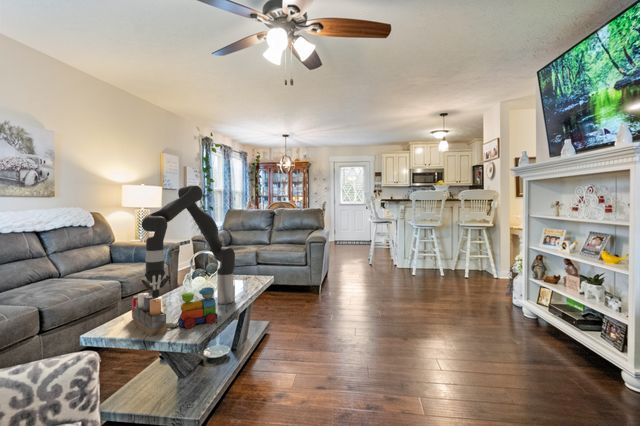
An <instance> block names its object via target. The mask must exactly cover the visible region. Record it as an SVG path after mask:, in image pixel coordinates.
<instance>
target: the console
mask: <svg viewBox="0 0 640 426" xmlns="http://www.w3.org/2000/svg"><path fill="white" fill-rule="evenodd" d="M166 323H167V313H166V312H164V311H162V310H161V315H157V316H150V312H147V313H146V312H144V309H138V306H137V307H134V320H133V325H134V326H135V327H136V328H138V329H140V330H141V331H142V332H144V333H145V334H147V335H148V337H149V336H150V337H155V336H158V335H161V334H165V333H167V332H168V331H167V330H168V327H167V325H166Z"/></svg>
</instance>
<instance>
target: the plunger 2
mask: <svg viewBox="0 0 640 426" xmlns="http://www.w3.org/2000/svg"><path fill="white" fill-rule="evenodd" d="M161 311H162V299H161V298H155V299H152V300H150V316H157V315H161Z"/></svg>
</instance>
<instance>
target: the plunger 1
mask: <svg viewBox="0 0 640 426" xmlns="http://www.w3.org/2000/svg"><path fill="white" fill-rule="evenodd" d="M137 295H138V309H144V297H146V296H150V293H149V292H143V293H142V292H141V293H138V294H137Z"/></svg>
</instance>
